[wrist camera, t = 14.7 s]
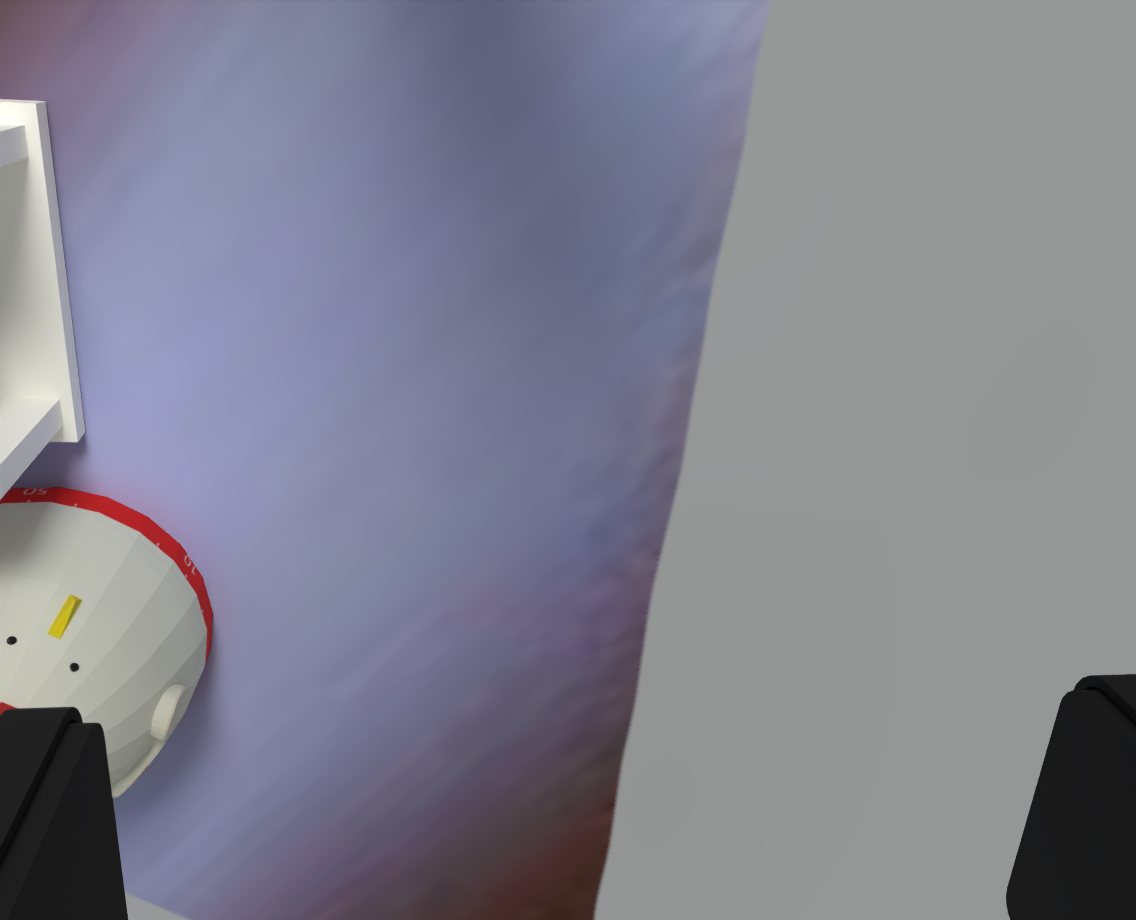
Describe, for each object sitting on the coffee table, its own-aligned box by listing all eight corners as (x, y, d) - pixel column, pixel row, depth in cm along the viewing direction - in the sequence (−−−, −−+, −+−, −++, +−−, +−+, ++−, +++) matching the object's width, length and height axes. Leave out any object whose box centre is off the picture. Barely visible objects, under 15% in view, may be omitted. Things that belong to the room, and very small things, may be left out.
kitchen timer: (265, 573, 51) (213, 778, 37) (134, 777, 54) (42, 1033, 41) (-22, 433, 46) (-202, 607, 33) (-146, 665, 50) (-356, 911, 36)
